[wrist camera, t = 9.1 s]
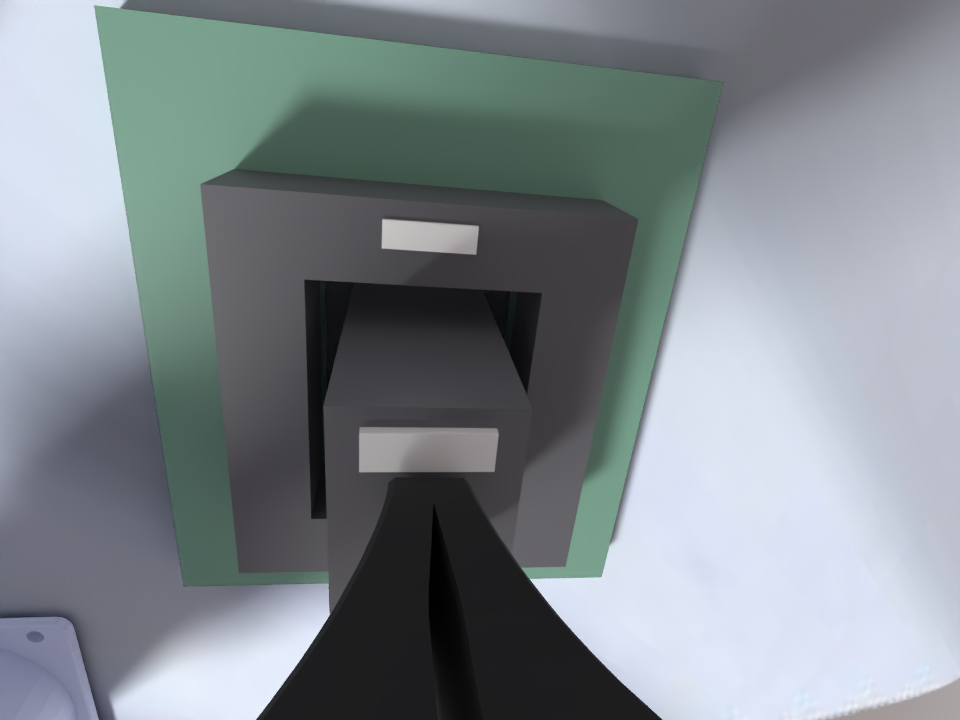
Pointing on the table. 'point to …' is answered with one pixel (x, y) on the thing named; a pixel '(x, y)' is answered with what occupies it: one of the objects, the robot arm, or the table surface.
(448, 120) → the board
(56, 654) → the robot arm
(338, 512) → the plug
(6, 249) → the table surface
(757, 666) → the table surface
